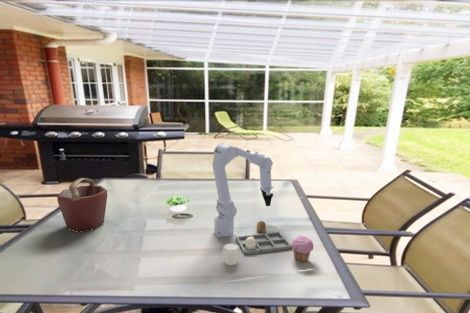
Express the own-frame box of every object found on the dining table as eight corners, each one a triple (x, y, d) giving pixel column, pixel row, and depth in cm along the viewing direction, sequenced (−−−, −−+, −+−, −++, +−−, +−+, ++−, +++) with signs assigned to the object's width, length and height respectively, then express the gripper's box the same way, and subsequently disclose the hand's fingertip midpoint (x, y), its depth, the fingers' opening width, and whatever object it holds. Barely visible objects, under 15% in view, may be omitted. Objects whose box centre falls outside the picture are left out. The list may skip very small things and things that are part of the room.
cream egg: (247, 252, 134) (247, 240, 133) (244, 247, 138) (244, 235, 137) (256, 251, 135) (257, 239, 134) (253, 246, 139) (253, 234, 138)
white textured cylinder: (230, 256, 132) (230, 241, 130) (242, 261, 127) (243, 246, 126) (219, 263, 126) (219, 247, 125) (232, 269, 122) (232, 252, 121)
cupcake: (297, 252, 135) (298, 230, 133) (316, 258, 130) (317, 236, 128) (287, 260, 128) (288, 238, 126) (306, 267, 123) (307, 244, 121)
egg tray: (244, 256, 132) (244, 251, 132) (235, 240, 146) (235, 236, 146) (291, 249, 137) (292, 245, 137) (279, 235, 151) (279, 231, 151)
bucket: (88, 237, 149) (83, 187, 144) (48, 233, 153) (42, 185, 148) (117, 218, 172) (113, 174, 167) (81, 215, 177) (77, 172, 172)
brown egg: (258, 234, 152) (258, 223, 151) (255, 230, 156) (255, 220, 155) (266, 233, 153) (267, 222, 152) (263, 229, 157) (264, 219, 156)
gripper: (275, 182, 156) (276, 207, 159) (271, 174, 170) (272, 197, 173) (261, 184, 155) (263, 209, 159) (258, 175, 169) (259, 198, 173)
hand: (267, 203), depth 166 cm, fingers open, 7 cm apart
